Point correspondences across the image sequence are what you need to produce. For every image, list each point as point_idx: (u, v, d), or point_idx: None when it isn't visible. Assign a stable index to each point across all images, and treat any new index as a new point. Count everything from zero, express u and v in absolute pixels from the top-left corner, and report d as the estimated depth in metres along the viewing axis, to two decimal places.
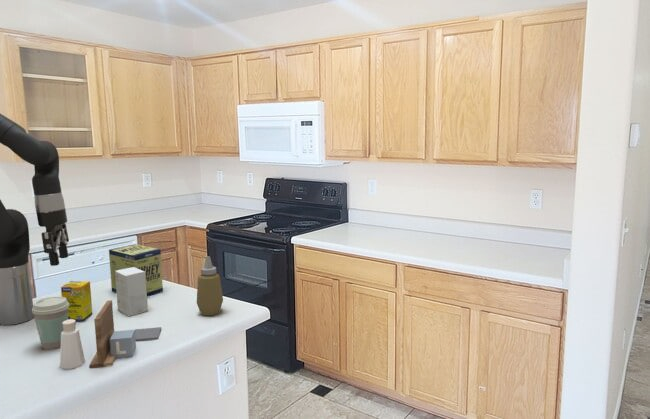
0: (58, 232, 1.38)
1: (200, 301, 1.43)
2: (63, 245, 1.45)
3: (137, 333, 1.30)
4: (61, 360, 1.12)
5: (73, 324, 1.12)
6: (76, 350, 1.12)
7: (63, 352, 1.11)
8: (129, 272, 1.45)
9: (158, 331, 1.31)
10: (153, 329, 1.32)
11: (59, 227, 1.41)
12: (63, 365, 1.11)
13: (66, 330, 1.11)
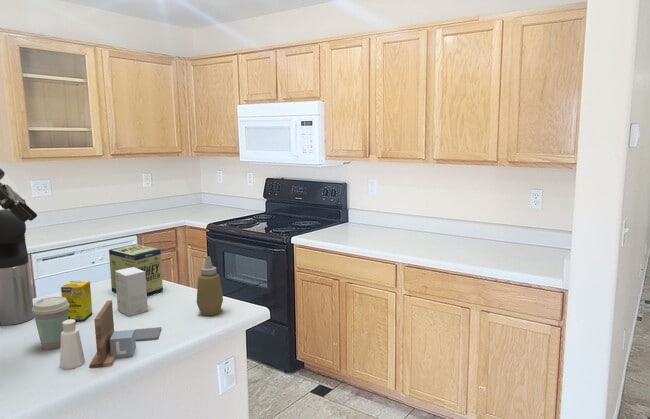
0: (3, 186, 1.09)
1: (200, 301, 1.43)
2: (22, 205, 1.16)
3: (137, 333, 1.30)
4: (61, 361, 1.12)
5: (73, 324, 1.12)
6: (76, 350, 1.12)
7: (63, 352, 1.11)
8: (129, 272, 1.45)
9: (158, 331, 1.31)
10: (153, 329, 1.32)
11: (1, 185, 1.12)
12: (63, 365, 1.11)
13: (66, 330, 1.11)
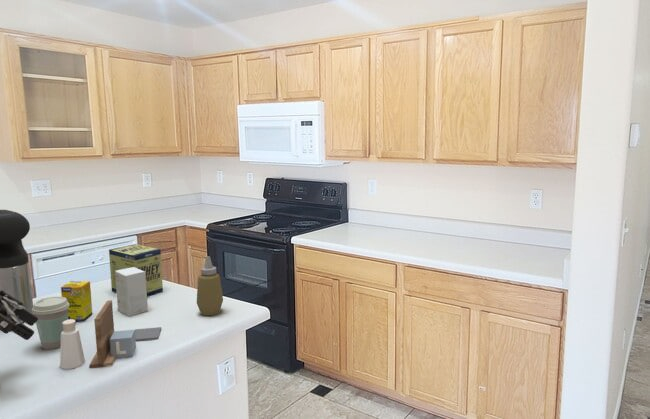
0: (1, 303, 1.03)
1: (200, 301, 1.43)
2: (21, 311, 1.10)
3: (137, 333, 1.30)
4: (61, 360, 1.12)
5: (73, 324, 1.12)
6: (76, 350, 1.12)
7: (63, 352, 1.11)
8: (129, 272, 1.45)
9: (158, 331, 1.31)
10: (153, 329, 1.32)
11: None
12: (63, 365, 1.11)
13: (66, 330, 1.11)
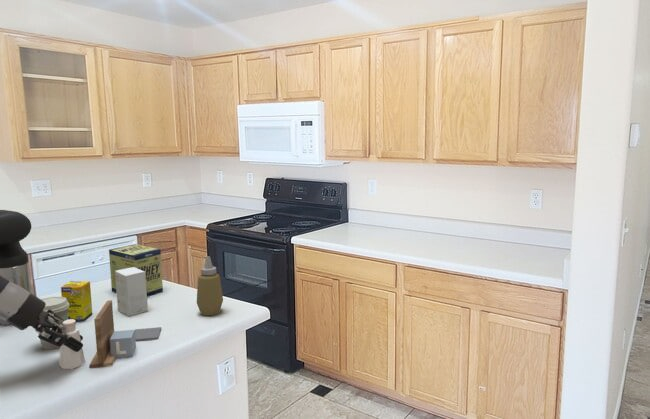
0: (49, 320, 1.08)
1: (200, 301, 1.43)
2: None
3: (137, 333, 1.30)
4: (61, 360, 1.12)
5: (73, 324, 1.12)
6: None
7: (63, 352, 1.11)
8: (129, 272, 1.45)
9: (158, 331, 1.31)
10: (153, 329, 1.32)
11: (43, 314, 1.10)
12: (63, 365, 1.11)
13: (66, 330, 1.11)
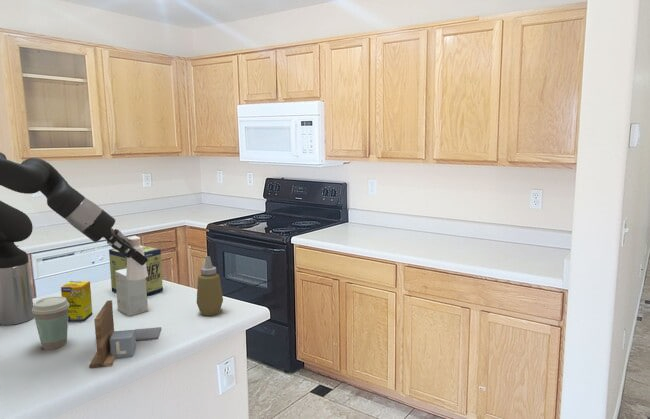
0: (118, 234, 1.20)
1: (200, 301, 1.43)
2: None
3: (137, 333, 1.30)
4: (127, 273, 1.24)
5: (139, 240, 1.24)
6: None
7: (130, 265, 1.23)
8: None
9: (158, 331, 1.31)
10: (153, 329, 1.32)
11: (112, 230, 1.22)
12: (129, 277, 1.23)
13: (132, 245, 1.23)
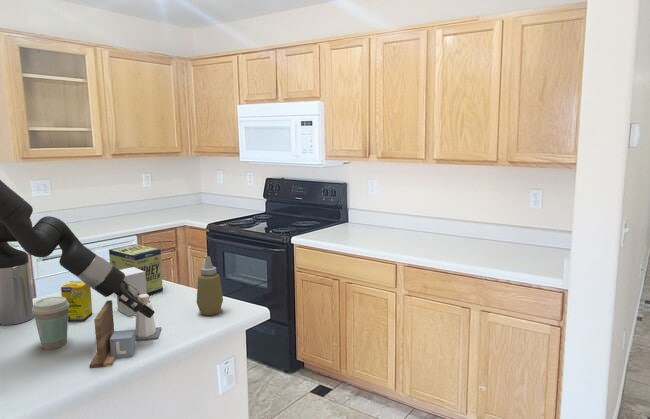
0: (127, 288, 1.24)
1: (200, 301, 1.43)
2: (137, 296, 1.31)
3: None
4: (136, 330, 1.28)
5: (147, 298, 1.28)
6: (149, 321, 1.28)
7: (139, 322, 1.27)
8: (129, 272, 1.45)
9: (158, 331, 1.31)
10: None
11: (122, 284, 1.26)
12: (139, 333, 1.27)
13: None
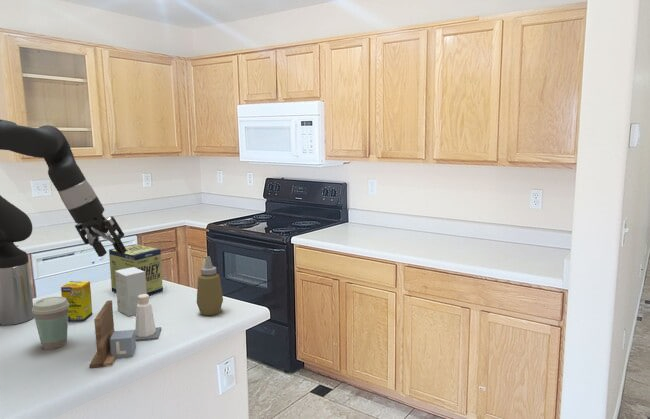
0: None
1: (200, 301, 1.43)
2: (97, 242, 1.26)
3: None
4: (136, 330, 1.28)
5: (147, 298, 1.28)
6: (149, 321, 1.28)
7: (139, 322, 1.27)
8: (129, 272, 1.45)
9: (158, 331, 1.31)
10: None
11: None
12: (139, 333, 1.27)
13: (141, 303, 1.27)
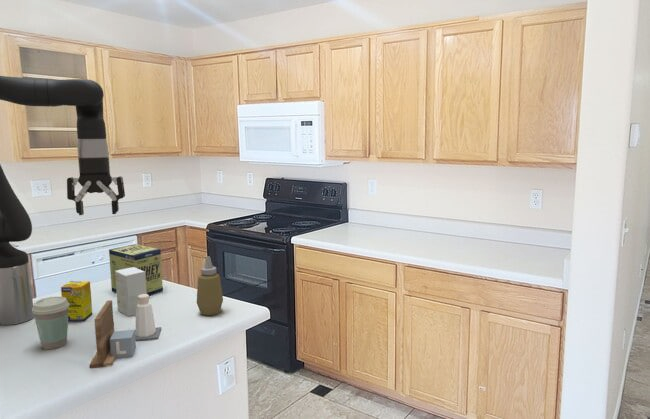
0: None
1: (200, 301, 1.43)
2: (81, 200, 1.29)
3: None
4: (136, 330, 1.28)
5: (147, 298, 1.28)
6: (149, 321, 1.28)
7: (139, 322, 1.27)
8: (129, 272, 1.45)
9: (158, 331, 1.31)
10: None
11: None
12: (139, 333, 1.27)
13: (141, 303, 1.27)
